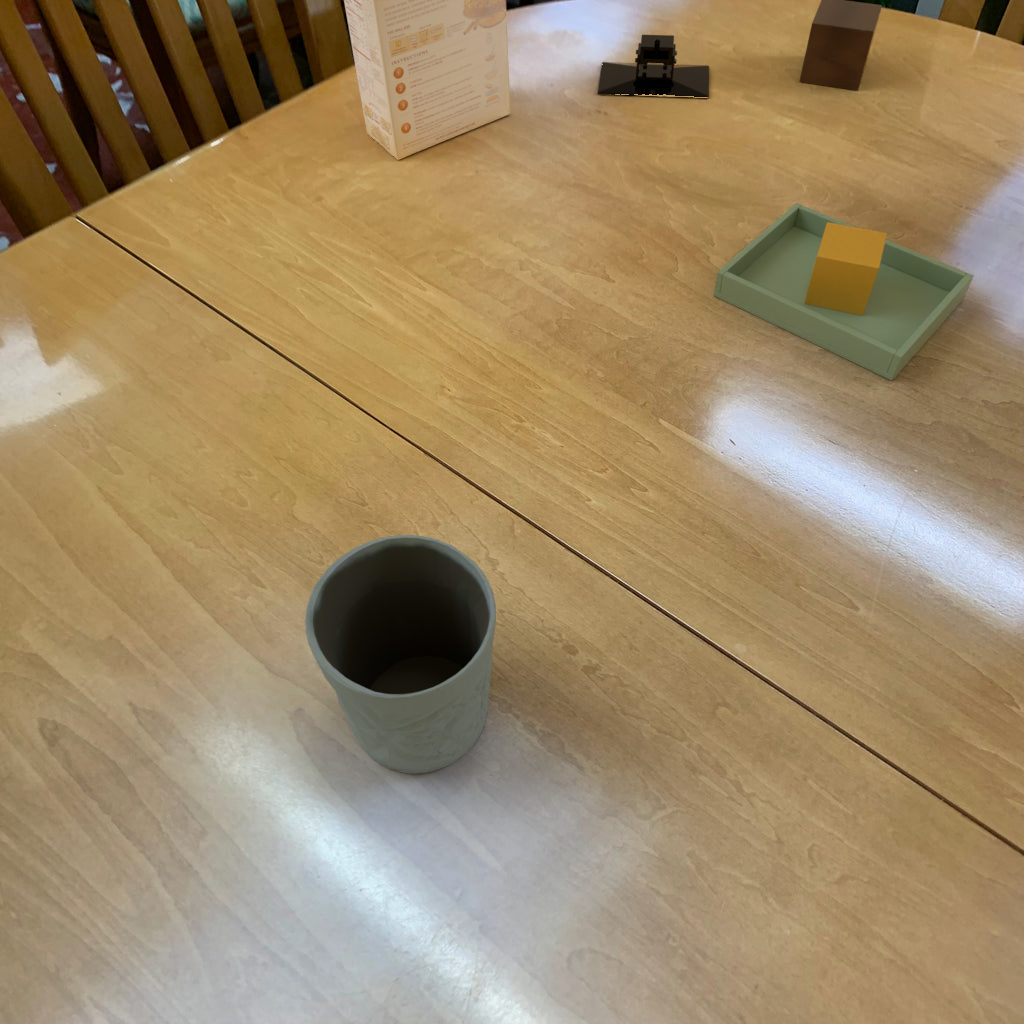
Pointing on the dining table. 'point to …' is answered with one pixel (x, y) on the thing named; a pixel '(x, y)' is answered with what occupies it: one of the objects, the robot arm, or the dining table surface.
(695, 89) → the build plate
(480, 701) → the grey green cup
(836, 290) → the top block
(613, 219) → the dining table surface
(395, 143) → the coffeecake box
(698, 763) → the dining table surface
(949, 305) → the tray
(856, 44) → the base block
